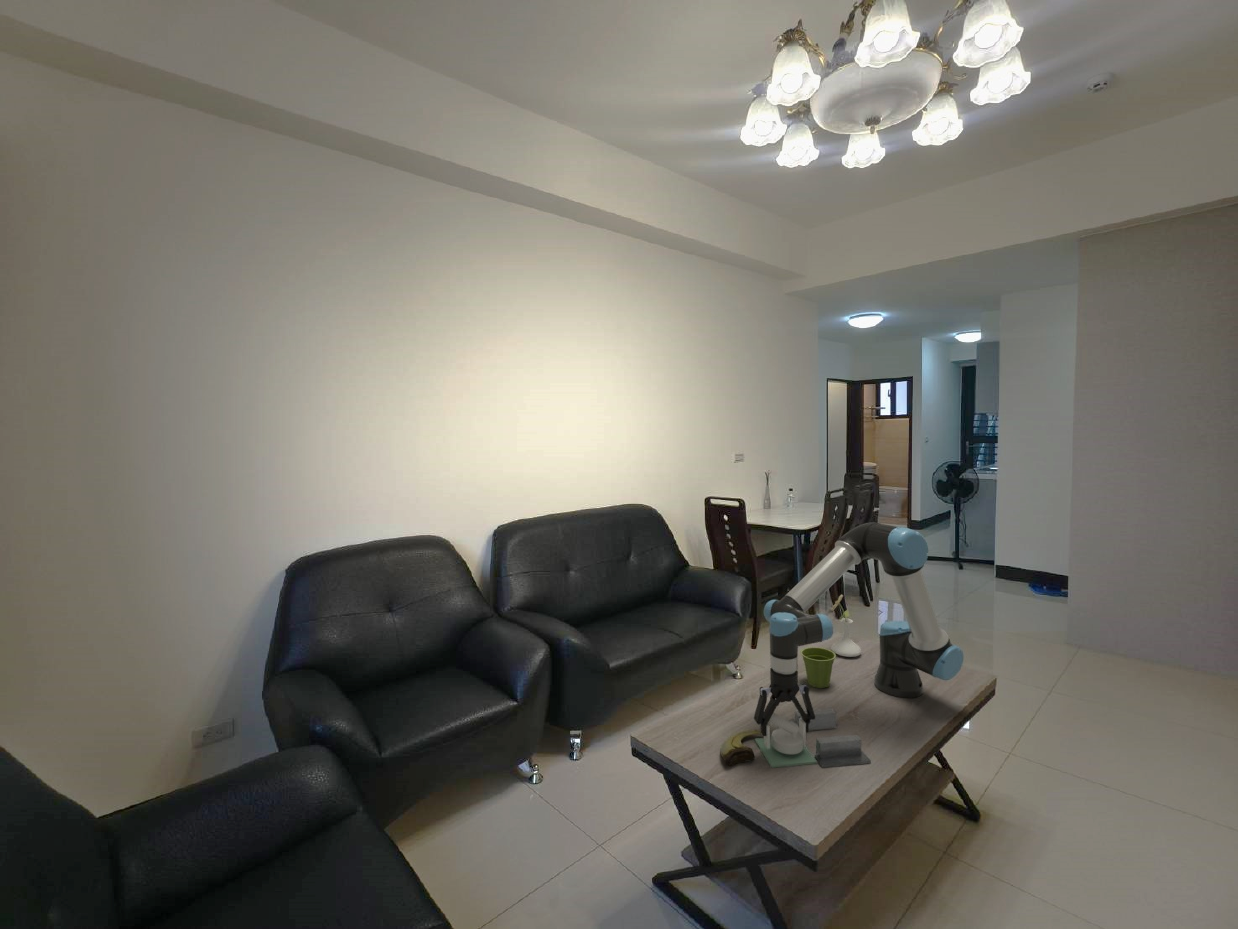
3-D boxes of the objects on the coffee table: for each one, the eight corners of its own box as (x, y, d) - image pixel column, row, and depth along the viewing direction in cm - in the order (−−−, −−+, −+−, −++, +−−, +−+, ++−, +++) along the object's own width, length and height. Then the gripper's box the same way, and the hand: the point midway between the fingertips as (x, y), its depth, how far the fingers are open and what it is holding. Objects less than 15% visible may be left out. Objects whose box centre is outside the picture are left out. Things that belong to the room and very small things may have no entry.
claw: (750, 773, 145) (749, 761, 144) (713, 765, 149) (712, 753, 149) (766, 735, 162) (765, 724, 162) (733, 729, 167) (732, 718, 167)
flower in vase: (842, 645, 226) (842, 587, 224) (867, 655, 216) (867, 594, 215) (822, 653, 219) (822, 593, 217) (847, 663, 209) (847, 600, 208)
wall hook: (765, 704, 159) (800, 706, 157) (765, 735, 159) (800, 738, 157) (767, 719, 150) (804, 722, 148) (767, 752, 151) (805, 755, 149)
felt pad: (796, 736, 161) (796, 735, 161) (816, 763, 148) (816, 761, 148) (754, 740, 160) (754, 738, 160) (771, 767, 147) (771, 765, 147)
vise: (830, 718, 171) (830, 703, 170) (870, 763, 148) (870, 745, 148) (787, 722, 169) (787, 707, 169) (822, 767, 147) (822, 750, 146)
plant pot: (830, 676, 199) (830, 646, 198) (840, 692, 187) (840, 660, 187) (797, 676, 200) (797, 646, 199) (805, 691, 188) (805, 660, 188)
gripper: (815, 660, 157) (816, 733, 159) (741, 665, 155) (742, 740, 157) (828, 671, 150) (828, 748, 152) (749, 677, 148) (751, 755, 149)
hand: (784, 744), depth 154 cm, fingers closed on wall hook, 10 cm apart
